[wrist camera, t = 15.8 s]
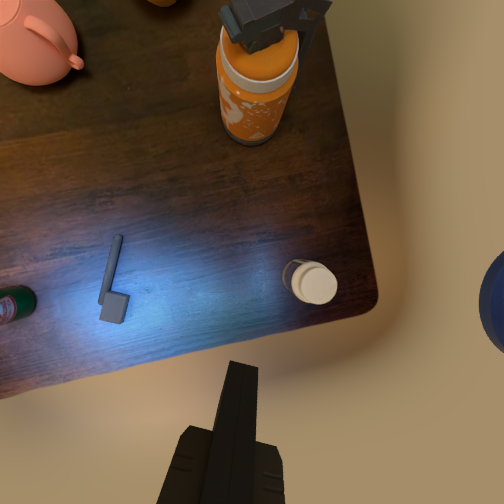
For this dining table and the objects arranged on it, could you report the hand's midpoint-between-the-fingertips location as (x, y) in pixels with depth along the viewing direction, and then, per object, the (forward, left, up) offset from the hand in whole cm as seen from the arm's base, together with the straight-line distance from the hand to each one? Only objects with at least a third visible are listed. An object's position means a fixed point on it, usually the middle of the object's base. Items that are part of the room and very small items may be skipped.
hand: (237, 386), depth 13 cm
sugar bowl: (+35, -28, -28) cm, 53 cm away
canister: (+4, -28, -28) cm, 39 cm away
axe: (+18, +2, -28) cm, 33 cm away
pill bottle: (-10, -5, -28) cm, 30 cm away
